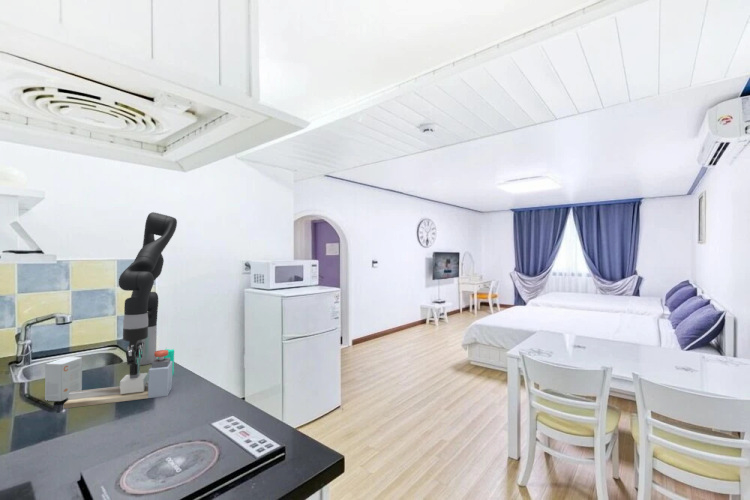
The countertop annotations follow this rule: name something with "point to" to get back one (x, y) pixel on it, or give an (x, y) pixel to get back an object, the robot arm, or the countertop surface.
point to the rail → (102, 396)
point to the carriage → (134, 382)
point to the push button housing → (160, 378)
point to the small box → (62, 378)
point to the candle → (171, 356)
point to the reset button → (161, 354)
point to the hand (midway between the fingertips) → (134, 373)
